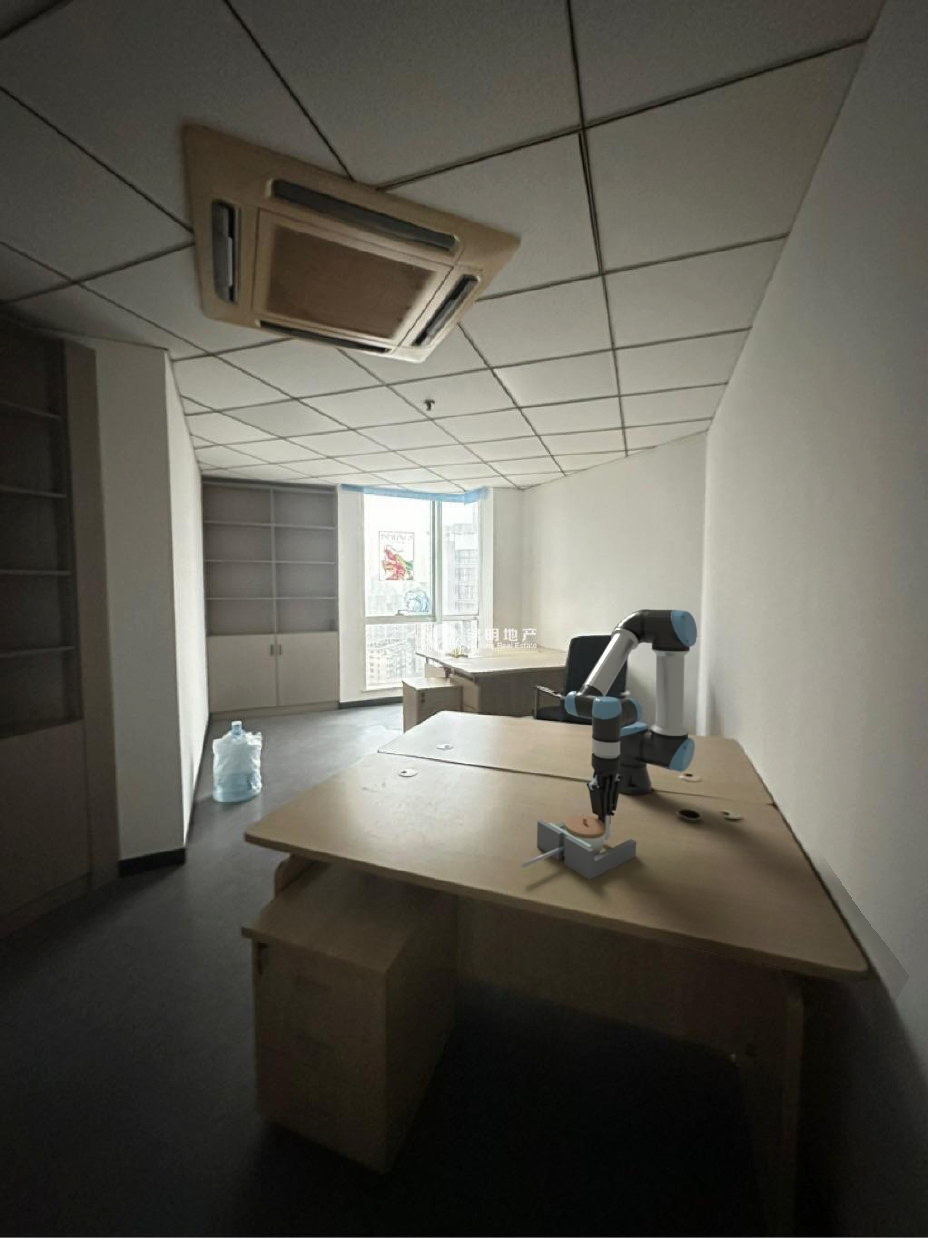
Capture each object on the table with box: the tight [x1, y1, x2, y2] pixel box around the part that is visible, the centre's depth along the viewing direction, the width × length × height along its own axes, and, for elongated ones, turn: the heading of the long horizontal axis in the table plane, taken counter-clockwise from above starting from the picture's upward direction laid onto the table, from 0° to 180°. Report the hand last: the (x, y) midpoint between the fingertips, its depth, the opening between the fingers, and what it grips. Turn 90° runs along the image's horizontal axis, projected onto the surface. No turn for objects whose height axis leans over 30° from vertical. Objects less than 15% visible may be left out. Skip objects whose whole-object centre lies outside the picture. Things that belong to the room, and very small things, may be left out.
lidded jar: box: [563, 814, 606, 856], centre depth 122 cm, size 11×11×9 cm
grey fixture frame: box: [536, 819, 637, 881], centre depth 122 cm, size 18×18×7 cm
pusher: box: [521, 822, 592, 869], centre depth 114 cm, size 17×14×6 cm
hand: (603, 837), depth 127 cm, fingers closed
